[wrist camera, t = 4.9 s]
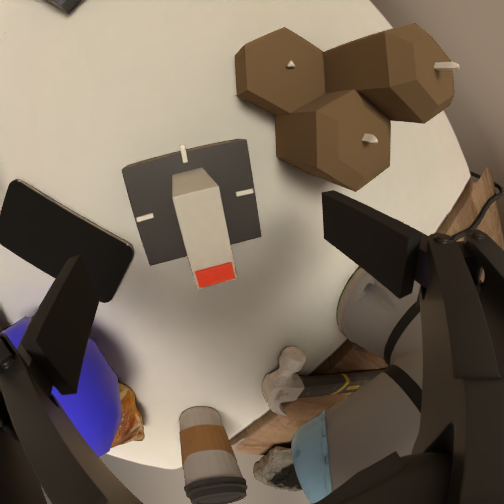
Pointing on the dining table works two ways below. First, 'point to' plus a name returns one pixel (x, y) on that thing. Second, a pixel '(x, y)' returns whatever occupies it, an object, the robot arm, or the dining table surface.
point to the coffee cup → (208, 459)
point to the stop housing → (64, 4)
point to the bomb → (87, 395)
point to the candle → (344, 96)
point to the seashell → (128, 419)
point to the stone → (277, 470)
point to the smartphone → (61, 238)
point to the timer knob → (203, 227)
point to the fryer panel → (161, 202)
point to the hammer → (306, 381)
